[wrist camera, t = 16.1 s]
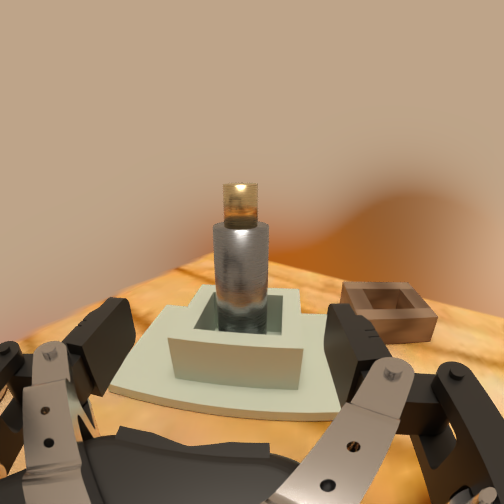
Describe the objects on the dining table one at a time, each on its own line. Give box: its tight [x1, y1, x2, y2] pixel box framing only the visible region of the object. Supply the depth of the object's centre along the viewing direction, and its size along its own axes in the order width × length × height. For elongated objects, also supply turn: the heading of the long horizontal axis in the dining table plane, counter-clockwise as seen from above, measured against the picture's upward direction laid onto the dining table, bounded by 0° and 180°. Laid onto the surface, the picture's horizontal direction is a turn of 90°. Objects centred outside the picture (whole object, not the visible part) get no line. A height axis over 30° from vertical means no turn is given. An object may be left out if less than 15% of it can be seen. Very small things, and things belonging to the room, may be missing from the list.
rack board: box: [108, 284, 341, 421], centre depth 23 cm, size 20×14×5 cm
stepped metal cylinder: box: [213, 183, 269, 335], centre depth 21 cm, size 4×4×14 cm
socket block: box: [340, 282, 438, 344], centre depth 29 cm, size 9×9×3 cm
